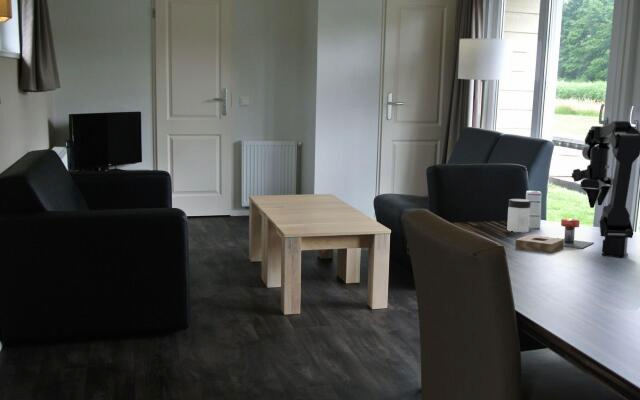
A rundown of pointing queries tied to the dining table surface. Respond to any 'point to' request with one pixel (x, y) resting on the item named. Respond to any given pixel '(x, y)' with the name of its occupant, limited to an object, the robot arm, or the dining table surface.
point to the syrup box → (534, 208)
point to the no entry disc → (569, 229)
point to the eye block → (539, 243)
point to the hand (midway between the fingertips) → (595, 206)
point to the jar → (518, 215)
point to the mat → (577, 244)
